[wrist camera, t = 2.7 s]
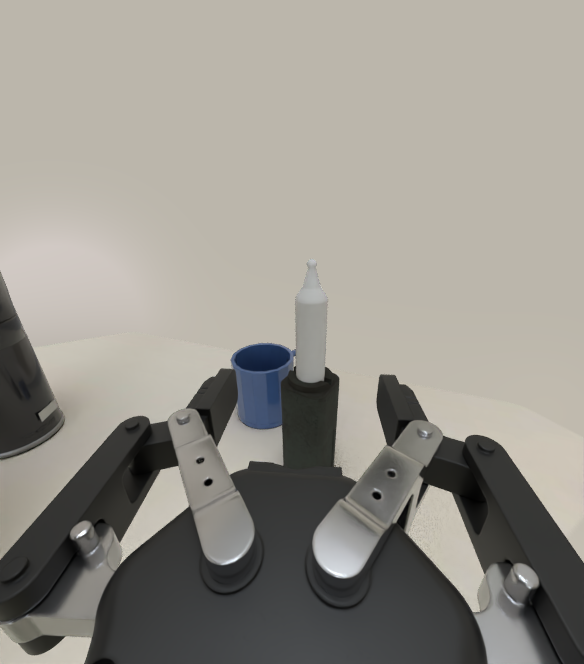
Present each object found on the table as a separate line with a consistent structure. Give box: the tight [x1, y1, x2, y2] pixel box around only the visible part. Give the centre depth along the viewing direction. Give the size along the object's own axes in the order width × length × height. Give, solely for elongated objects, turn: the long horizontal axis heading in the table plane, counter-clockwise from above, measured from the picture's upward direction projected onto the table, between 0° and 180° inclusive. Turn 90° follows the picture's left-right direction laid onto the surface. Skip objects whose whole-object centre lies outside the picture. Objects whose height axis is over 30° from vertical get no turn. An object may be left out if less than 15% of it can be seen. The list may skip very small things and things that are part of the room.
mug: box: [231, 343, 296, 429], centre depth 43 cm, size 12×9×10 cm
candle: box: [281, 259, 339, 469], centre depth 28 cm, size 5×5×25 cm
